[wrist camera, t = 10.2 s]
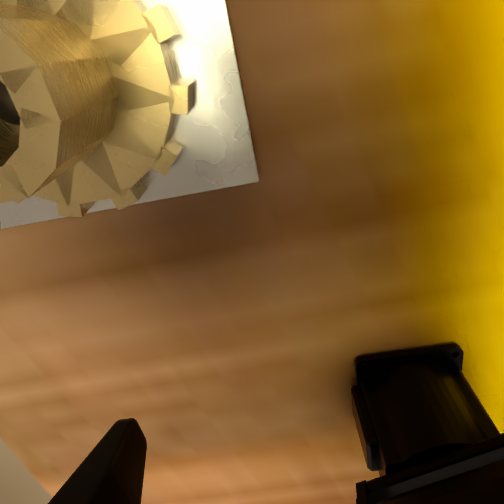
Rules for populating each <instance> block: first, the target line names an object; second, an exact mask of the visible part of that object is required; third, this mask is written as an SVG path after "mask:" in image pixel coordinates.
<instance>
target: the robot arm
mask: <svg viewBox="0 0 504 504" xmlns="http://www.w3.org/2000/svg"><path fill="white" fill-rule="evenodd" d="M453 352H454V353H453ZM462 363H463V350H462V349H461V347H460V346H459V345H457V344H449V345H442V346H434V347H427V348H419V349H412V350H405V351H397V352H390V353H383V354H375V355H368V356H361V357H358V358H357V359H356V360H355V375H356V385H353V387H352V388H351V397H352V407H353V415H354V418H355V422H356V426H357V430H358V434H359V437H360V441H361V445H362V449H363V453H364V456H365V460H366V464H367V468H368V469H370V470H371V471H379V474H380V477H378V478H375V479H373V480H370V481H366V480H364V481H361V482H359V483H356V492H357V499H356V504H504V433H502V434H500V433H499V431H498V430H497V428H496V426H495V425H494V423H493V422H492V420H491V418H490V417H489V415H488V413H487V412H486V410H485V409H484V407H483V405H482V404H481V402H480V401H479V399H478V397H477V396H476V394H475V393H474V391H473V389H472V388H471V386H470V384H469V383H468V381H467V380H466V378H465V376H464V375H463V373H462ZM362 364H364V365H362ZM146 450H147V443H146V438H145V436H144V434H143V432H142V430H141V428H140V426H139V424H138V422H137V421H136V420H135V419H134V418H129V419H121V420H118V421H117V422H116V423H115V424H114V425H113V426H112V427H111V428H110V430H109V431H108V432H107V433H106V434H105V436H104V437H103V438H102V439H101V440H100V442H99V443H98V444H97V445H96V446H95V448H94V449H93V450H92V451H91V452H90V454H89V455H88V456H87V457H86V458H85V460H84V461H83V462H82V463H81V464H80V466H79V467H78V468H77V469H76V470H75V472H74V473H73V474H72V475H71V476H70V478H69V479H68V480H67V481H66V482H65V484H64V485H63V486H62V487H61V488H60V490H59V491H58V492H57V493H56V494H55V496H54V497H53V498H52V499H51V500H50V502H49V503H48V504H141V496H142V487H143V478H144V469H145V459H146Z"/></svg>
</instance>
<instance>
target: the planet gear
mask: <svg viewBox="0 0 504 504" xmlns="http://www.w3.org/2000/svg"><path fill="white" fill-rule="evenodd" d="M180 35H181V33H180V31H179V29H178V27H177V25H176V23H175V21H174V19H173V17H172V15H171V13H170V11H169V9H168V7H167V6H164V5H161V4H158V5H156V6H155V7H153V8H151V9H150V10H148V9H147V7H146V6H145V5H144V4H143V3H142V1H141V0H0V81H1V82H2V83H3V84H4V85H5V86H6V88H7V90H8V92H9V95H10V97H11V99H12V101H13V103H14V105H15V108H16V110H17V112H18V114H19V116H20V125H15V124H10V123H7V122H5V121H3V120H2V119H0V203H5V202H10V201H14V202H16V203H18V204H19V203H20V202H21V201H23V200H24V199H26V198H29V197H31V196H32V195H33V196H37V197H40V198H43V199H47V200H50V201H53V202H56V204H57V209H58V215H59V216H70V217H83V216H84V215H85V213H86V212H87V211H88V210H89V209H90V208H91V207H92V206H93V205H94V201H99V200H104V199H111V200H112V202H113V203H114V205H115V206H116V207H117V209H118V210H121V209H123V208H125V207H127V206H129V205H131V204H133V203H135V202H138V201H139V199H140V198H141V196H142V195H143V193H144V192H145V191H146V187H145V186H144V184H143V183H142V181H141V180H140V178H142V177H143V176H144V175H145V174H146V173H147V172H148V171H149V170H150V169H151V168H153V169H155V170H156V171H158V172H159V173H161V174H163V175H164V176H166V174H167V173H168V171H169V169H170V168H171V166H172V165H173V163H174V161H175V160H176V158H177V156H178V154H179V153H180V151H181V149H182V148H183V147H182V146H181V145H179V144H178V143H176V142H175V141H173V140H172V139H170V138H171V134H172V130H173V125H174V121H175V117H176V114H187V115H188V114H189V112H190V111H191V110H192V109H193V82H186V81H177V77H176V73H175V70H174V66H173V62H172V58H171V54H170V50H169V47H168V42H170V41H171V40H173V39H175V38H177V37H178V36H180Z"/></svg>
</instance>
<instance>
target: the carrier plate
mask: <svg viewBox="0 0 504 504" xmlns="http://www.w3.org/2000/svg"><path fill="white" fill-rule="evenodd" d="M141 1H142V3H143V4H144V5H145V6H146V7H147V9H148V10H150V9H151V8H153V7H155V6H156V5H158V4H161V5H164V6H167V7H168V9H169V11H170V13H171V15H172V17H173V19H174V21H175V23H176V25H177V27H178V29H179V31H180V33H181V35H180V36H178V37H177V38H175V39H173V40H171V41H170V42H168V47H169V50H170V54H171V58H172V62H173V66H174V70H175V73H176V77H177V81H186V82H193V109H192V110H191V111H190V112H189V114H188V115H187V114H176V117H175V121H174V125H173V130H172V134H171V138H170V139H172V140H173V141H175V142H176V143H178V144H179V145H181V146H182V147H183V148H182V149H181V151H180V153H179V154H178V156H177V158H176V160H175V161H174V163H173V165H172V166H171V168H170V169H169V171H168V173H167V174H166V176H164V175H163V174H161V173H159V172H158V171H156V170H155V169H153V168H151V169H150V170H149V171H148V172H147V173H146V174H145V175H144V176H143V177H142V178H140V180H141V181H142V183H143V184H144V186H145V187H146V191H145V192H144V193H143V195H142V196H141V198H140V199H139V201H138V202H135V203H133V204H131V205H134V204H139V203H145V202H150V201H156V200H161V199H167V198H172V197H178V196H183V195H189V194H194V193H199V192H205V191H210V190H216V189H221V188H227V187H232V186H238V185H243V184H249V183H254V182H259V172H258V167H257V162H256V156H255V151H254V146H253V140H252V135H251V130H250V124H249V119H248V114H247V109H246V103H245V98H244V93H243V87H242V82H241V77H240V71H239V66H238V61H237V55H236V50H235V45H234V40H233V34H232V29H231V24H230V18H229V13H228V8H227V2H226V0H141ZM0 119H2V120H3V121H5V122H7V123H10V124H15V125H20V116H19V114H18V112H17V110H16V108H15V105H14V103H13V101H12V99H11V97H10V95H9V92H8V90H7V88H6V86H5V85H4V84H3V83H2V82H1V81H0ZM112 208H117V207H116V206H115V205H114V203H113V202H112V200H111V199H104V200H99V201H94V205H93V206H92V207H91V208H90V209H89V210H88V211H87V212H86V213H90V212H96V211H101V210H107V209H112ZM63 217H68V216H59V215H58V209H57V204H56V202H53V201H50V200H47V199H43V198H40V197H37V196H33V195H32V196H31V197H29V198H26V199H24V200H23V201H21V202H20V203H19V204H18V203H16V202H14V201H10V202H5V203H0V229H3V228H8V227H14V226H19V225H25V224H30V223H35V222H41V221H46V220H52V219H57V218H63Z"/></svg>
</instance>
